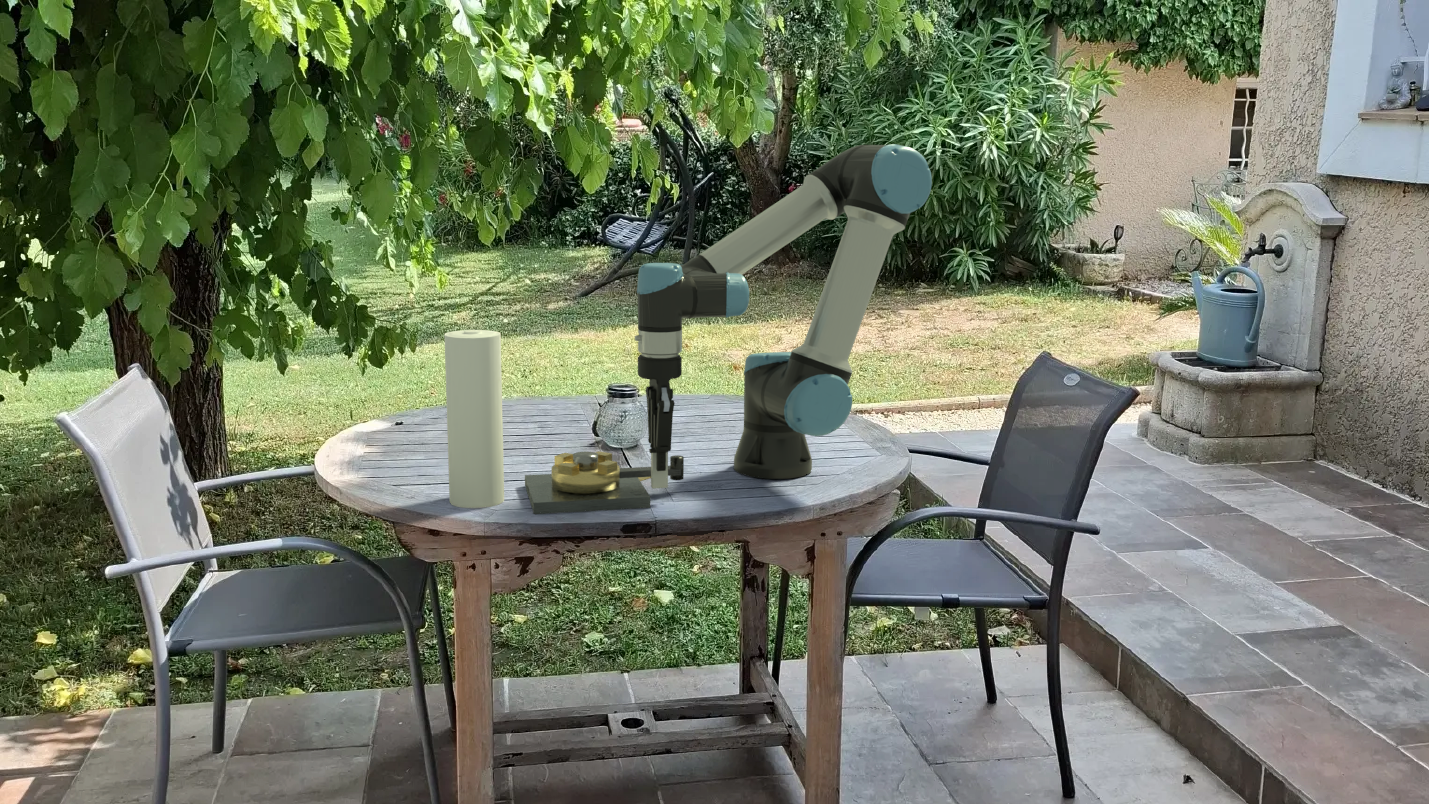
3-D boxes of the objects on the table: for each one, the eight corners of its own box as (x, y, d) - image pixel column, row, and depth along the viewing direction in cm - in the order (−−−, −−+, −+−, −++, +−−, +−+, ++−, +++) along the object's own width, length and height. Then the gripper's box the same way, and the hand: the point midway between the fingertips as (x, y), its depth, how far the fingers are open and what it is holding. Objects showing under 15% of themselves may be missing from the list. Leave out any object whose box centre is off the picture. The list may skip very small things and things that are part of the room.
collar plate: (650, 475, 232) (651, 465, 232) (672, 506, 212) (672, 495, 212) (523, 481, 227) (523, 471, 226) (533, 514, 207) (533, 502, 206)
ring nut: (676, 470, 227) (676, 442, 226) (690, 488, 215) (690, 458, 214) (548, 476, 222) (548, 447, 220) (555, 494, 210) (555, 464, 209)
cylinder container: (507, 493, 219) (504, 327, 213) (500, 508, 210) (496, 335, 204) (454, 492, 219) (449, 326, 213) (445, 508, 209) (439, 334, 203)
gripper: (631, 348, 215) (631, 478, 219) (645, 361, 202) (645, 498, 207) (673, 347, 216) (672, 476, 221) (689, 359, 204) (688, 496, 209)
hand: (659, 486), depth 214 cm, fingers closed
